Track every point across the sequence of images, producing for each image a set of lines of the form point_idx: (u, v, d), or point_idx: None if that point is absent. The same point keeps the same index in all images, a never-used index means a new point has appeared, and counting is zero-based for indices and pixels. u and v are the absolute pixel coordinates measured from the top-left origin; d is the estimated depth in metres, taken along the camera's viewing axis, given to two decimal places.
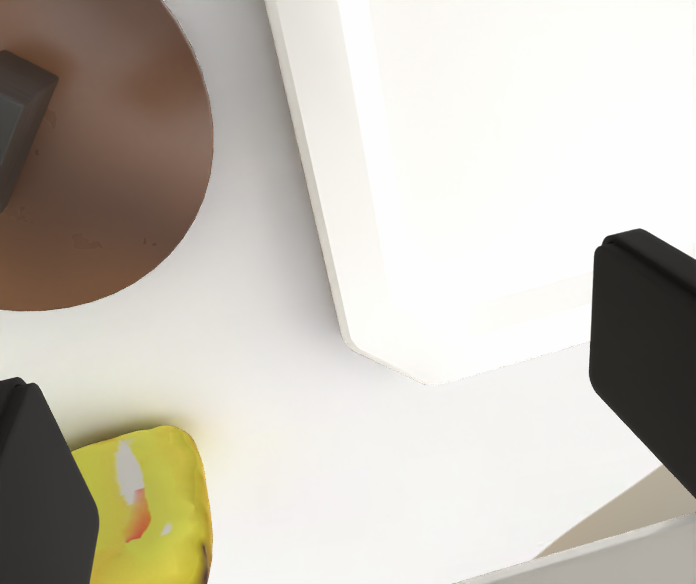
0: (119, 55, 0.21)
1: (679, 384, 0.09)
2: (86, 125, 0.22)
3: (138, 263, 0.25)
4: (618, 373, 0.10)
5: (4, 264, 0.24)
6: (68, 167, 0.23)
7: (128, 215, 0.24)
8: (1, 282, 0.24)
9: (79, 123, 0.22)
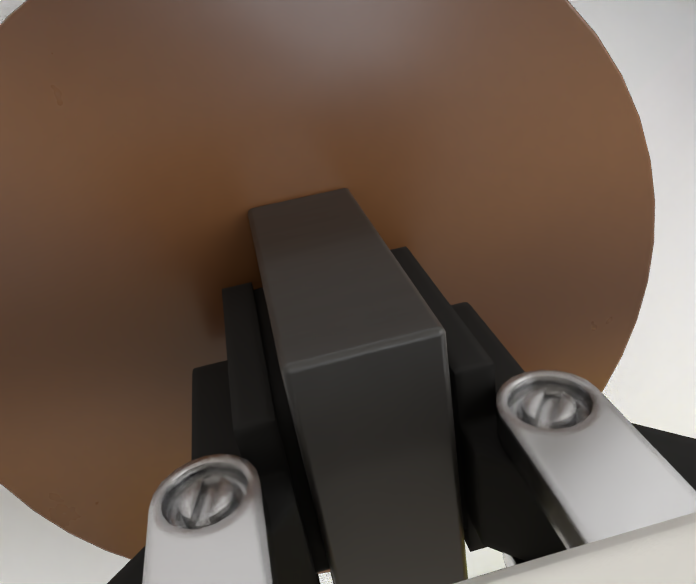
0: (415, 76, 0.10)
1: None
2: (426, 226, 0.12)
3: (598, 361, 0.14)
4: None
5: None
6: None
7: (552, 308, 0.13)
8: None
9: (415, 232, 0.12)
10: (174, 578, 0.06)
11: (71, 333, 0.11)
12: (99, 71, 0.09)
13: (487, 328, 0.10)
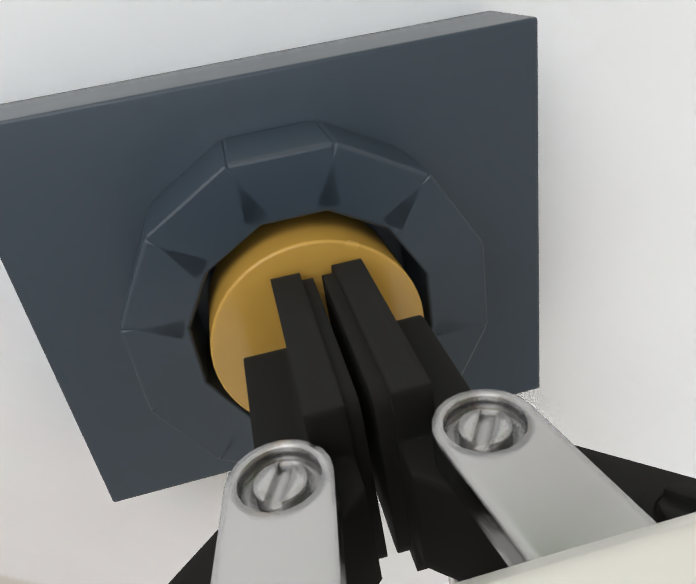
0: None
1: (360, 409, 0.09)
2: None
3: None
4: None
5: None
6: None
7: None
8: None
9: None
10: (244, 559, 0.06)
11: None
12: None
13: (438, 343, 0.10)
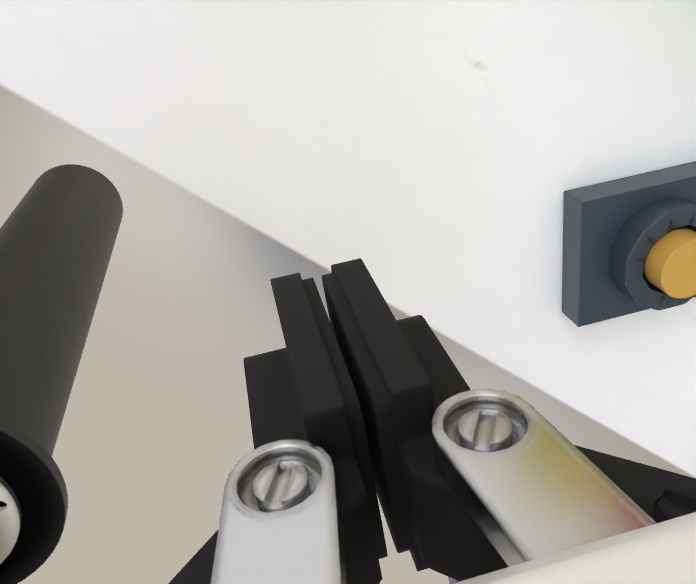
0: None
1: (360, 409, 0.09)
2: None
3: None
4: None
5: None
6: None
7: None
8: None
9: None
10: (245, 559, 0.06)
11: None
12: None
13: (438, 343, 0.10)
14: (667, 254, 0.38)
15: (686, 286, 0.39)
